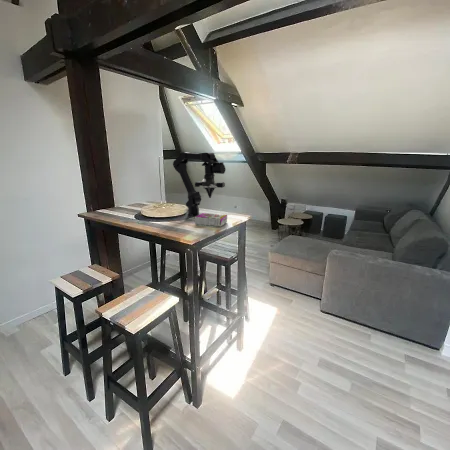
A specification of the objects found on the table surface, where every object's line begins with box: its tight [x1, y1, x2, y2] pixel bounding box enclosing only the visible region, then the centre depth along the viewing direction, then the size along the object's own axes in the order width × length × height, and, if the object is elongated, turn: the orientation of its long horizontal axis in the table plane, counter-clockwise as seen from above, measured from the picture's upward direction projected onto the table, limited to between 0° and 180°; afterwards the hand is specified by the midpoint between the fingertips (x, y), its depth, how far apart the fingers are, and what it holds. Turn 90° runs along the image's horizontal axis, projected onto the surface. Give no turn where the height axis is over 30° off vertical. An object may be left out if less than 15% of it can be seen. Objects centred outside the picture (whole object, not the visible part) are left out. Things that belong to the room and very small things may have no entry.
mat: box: [196, 224, 218, 228], centre depth 146 cm, size 12×13×1 cm
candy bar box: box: [194, 212, 228, 228], centre depth 144 cm, size 11×5×16 cm
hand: (210, 197), depth 156 cm, fingers closed
